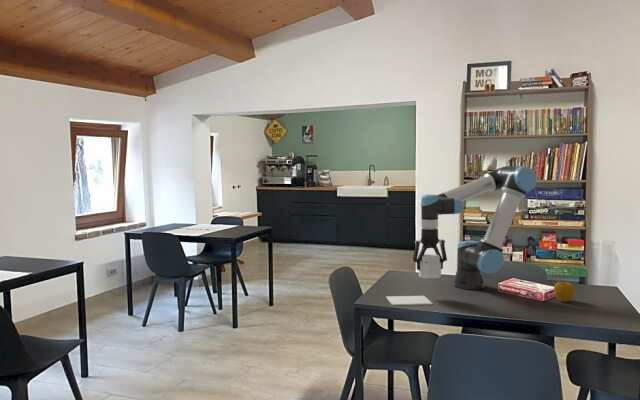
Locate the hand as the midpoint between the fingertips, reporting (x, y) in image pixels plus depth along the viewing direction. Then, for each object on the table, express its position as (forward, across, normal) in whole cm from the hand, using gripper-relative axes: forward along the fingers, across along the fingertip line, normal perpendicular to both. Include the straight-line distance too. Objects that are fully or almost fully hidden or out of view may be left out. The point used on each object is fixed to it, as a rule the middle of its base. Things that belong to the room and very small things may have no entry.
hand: (429, 276), depth 221 cm
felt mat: (+9, +12, +6) cm, 16 cm away
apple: (+12, -59, +11) cm, 61 cm away
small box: (+1, 0, 0) cm, 1 cm away
